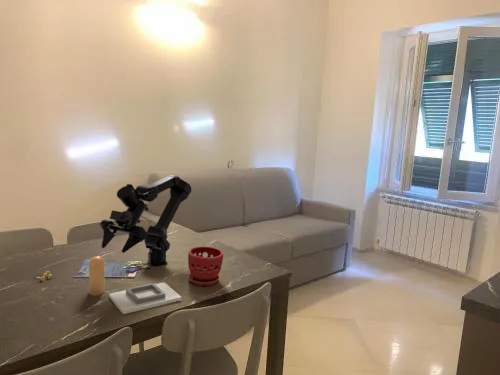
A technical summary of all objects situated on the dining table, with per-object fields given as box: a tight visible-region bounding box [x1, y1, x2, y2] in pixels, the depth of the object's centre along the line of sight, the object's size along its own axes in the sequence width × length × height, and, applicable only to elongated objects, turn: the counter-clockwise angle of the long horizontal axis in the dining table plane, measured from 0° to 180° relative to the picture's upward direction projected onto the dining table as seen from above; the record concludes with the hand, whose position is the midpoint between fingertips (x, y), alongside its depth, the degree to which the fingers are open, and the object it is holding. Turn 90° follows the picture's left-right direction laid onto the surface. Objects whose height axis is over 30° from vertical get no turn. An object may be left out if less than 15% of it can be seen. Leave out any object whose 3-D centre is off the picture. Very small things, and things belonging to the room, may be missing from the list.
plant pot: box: [187, 246, 224, 287], centre depth 155 cm, size 13×13×12 cm
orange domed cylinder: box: [88, 255, 106, 297], centre depth 141 cm, size 5×5×13 cm
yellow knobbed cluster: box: [36, 270, 53, 282], centre depth 151 cm, size 5×5×2 cm
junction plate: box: [108, 282, 182, 315], centre depth 139 cm, size 20×14×3 cm
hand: (112, 250), depth 146 cm, fingers open, 9 cm apart
